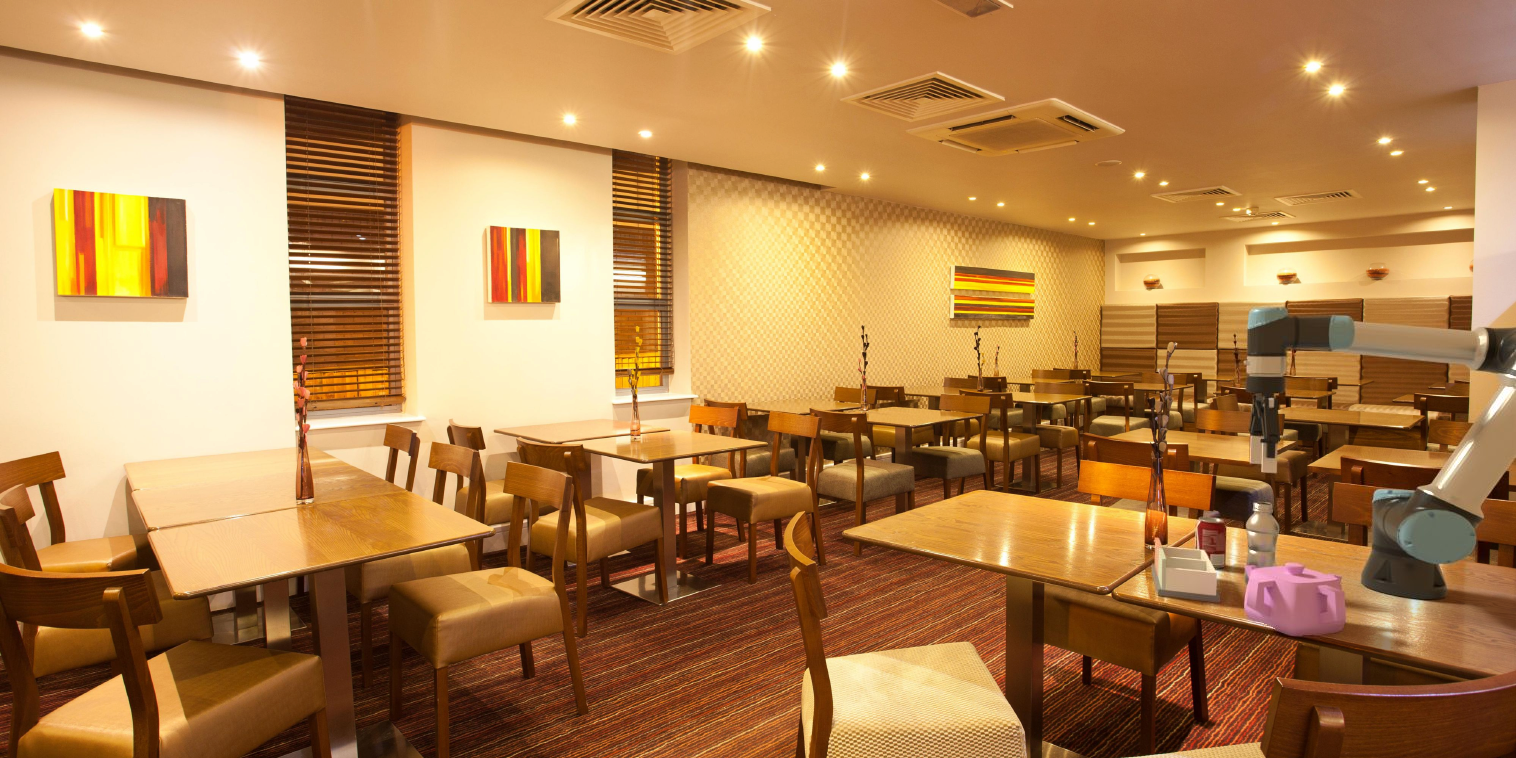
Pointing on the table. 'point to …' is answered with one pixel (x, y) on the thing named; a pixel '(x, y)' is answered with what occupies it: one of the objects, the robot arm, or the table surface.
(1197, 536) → the soda can
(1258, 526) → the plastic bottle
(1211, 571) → the socket board
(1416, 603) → the table surface
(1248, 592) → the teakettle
